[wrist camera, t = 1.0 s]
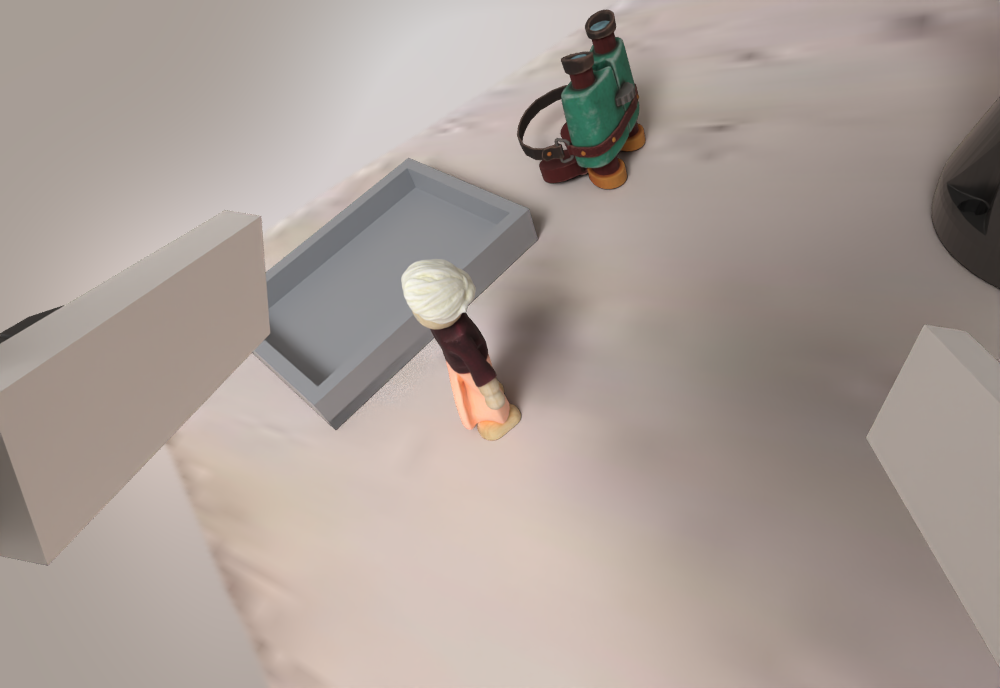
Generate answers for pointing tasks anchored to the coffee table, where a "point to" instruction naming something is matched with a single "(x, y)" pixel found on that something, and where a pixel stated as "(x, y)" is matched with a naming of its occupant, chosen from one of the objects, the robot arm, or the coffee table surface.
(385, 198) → the tray
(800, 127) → the coffee table surface
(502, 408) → the grandmother figurine
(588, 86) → the binoculars
